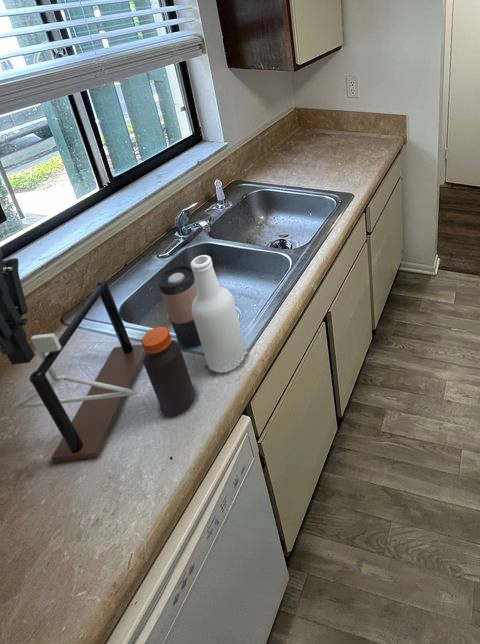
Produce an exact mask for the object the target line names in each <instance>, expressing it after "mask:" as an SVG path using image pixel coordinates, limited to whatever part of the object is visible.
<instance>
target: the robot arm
mask: <svg viewBox="0 0 480 644" xmlns="http://www.w3.org/2000/svg"><path fill="white" fill-rule="evenodd" d="M3 255H4V254H3V251H2V250H1V249H0V353H1V354H2V355H5V356H6V357H7V359H8V360H9V362H10V363H11V365H19V364H28V363H31V361H32V360H33V359H34V357H35V356H36V354H35V352H34V351H33V349H32V347H31V345H30V343H29V342H28V339H27V337H28V336H27V335H28V334H27V332H26V330H25V329H24V327H23V326H26V325H27V323H28V318H23V316H24V315H26V314H27V313H28V311H29V310H28V306H27V301H26V297H25V292H24V289H23V286H22V281H21V278H20V273H19V259H18V258H17V257H13V258H3Z"/></svg>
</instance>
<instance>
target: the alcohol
mask: <svg viewBox="0 0 480 644" xmlns="http://www.w3.org/2000/svg"><path fill="white" fill-rule="evenodd" d="M190 266H191V269H192V271H193V274H194V277H195V283H196V289H197V295H196V297H195V298H194V300H193V302H192V315H193V319H194V322H195V325H196V328H197V332H198V335H199V338H200V342H201V344H200V345H201V348H202V351H203V355H204V358H205V361H206V364H207V367H208V369H209V370H211V371H213V372H215V373H220V374H223V373H228V372H231V371H233V370H235V369H237V368H238V367H239V366H240V365H241V364H242V362H243V361H244V359H245V357H246V353H247V350H246V349H247V347H246V345H245V340H244V336H243V332H242V328H241V323H240V321H239V316H238V315H239V314H238V312H237V307H236V303H235V299H234V296H233V295H232V293H231V292H230V290H229V289H228V288H226V287H223V286H221V284H220V283H219V280H218V277H217V274H216V271H215V268H214V267H213V261H212V257H211V256H210V255H207V254H201V255H198V256H196V257H195V258H193V259H192V260H191V262H190Z"/></svg>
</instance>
